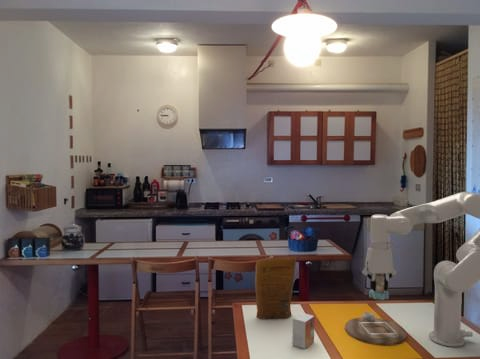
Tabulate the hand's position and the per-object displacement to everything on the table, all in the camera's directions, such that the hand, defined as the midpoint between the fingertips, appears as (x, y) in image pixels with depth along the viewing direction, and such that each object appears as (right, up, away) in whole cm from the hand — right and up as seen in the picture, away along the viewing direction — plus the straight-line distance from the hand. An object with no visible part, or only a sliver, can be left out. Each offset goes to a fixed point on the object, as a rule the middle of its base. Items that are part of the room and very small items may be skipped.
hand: (379, 289), depth 165 cm
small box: (-32, -19, -7) cm, 38 cm away
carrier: (0, -19, +4) cm, 19 cm away
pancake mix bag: (-41, -18, +18) cm, 48 cm away
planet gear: (0, -3, 0) cm, 3 cm away
